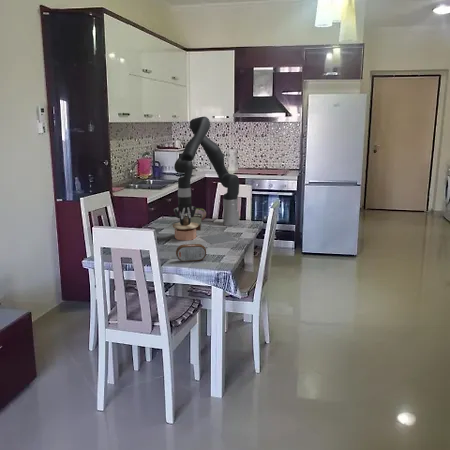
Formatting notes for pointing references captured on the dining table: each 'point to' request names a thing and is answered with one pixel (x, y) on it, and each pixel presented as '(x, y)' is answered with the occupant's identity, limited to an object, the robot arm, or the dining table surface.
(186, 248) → the portable speaker
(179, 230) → the bowl
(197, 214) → the food container
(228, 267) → the dining table surface
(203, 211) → the decorative fruit
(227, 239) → the mat
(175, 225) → the lid
